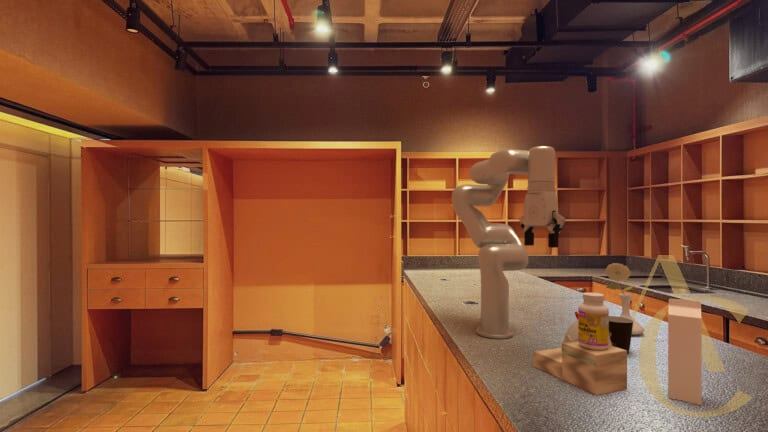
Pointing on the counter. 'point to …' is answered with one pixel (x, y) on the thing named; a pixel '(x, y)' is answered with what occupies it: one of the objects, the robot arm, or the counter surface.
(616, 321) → the coffee mug
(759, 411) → the counter surface
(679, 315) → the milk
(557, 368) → the stand
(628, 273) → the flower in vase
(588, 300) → the supplement bottle
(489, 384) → the counter surface
